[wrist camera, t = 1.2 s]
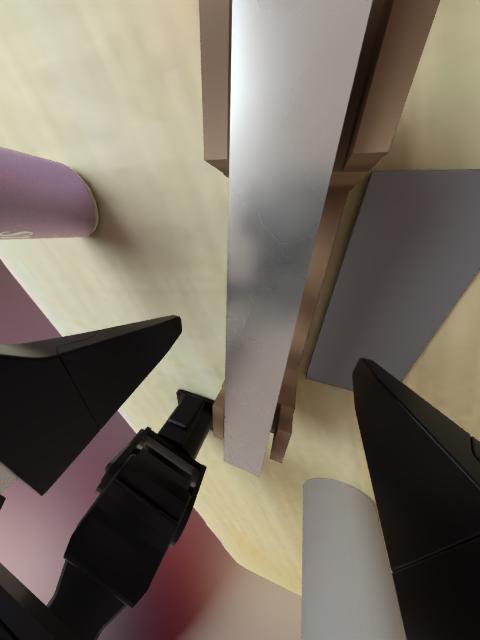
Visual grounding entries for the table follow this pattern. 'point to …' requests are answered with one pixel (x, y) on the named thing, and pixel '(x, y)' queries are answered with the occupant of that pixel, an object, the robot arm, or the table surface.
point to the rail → (278, 189)
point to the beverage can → (43, 199)
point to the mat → (400, 271)
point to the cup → (345, 567)
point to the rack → (352, 153)
